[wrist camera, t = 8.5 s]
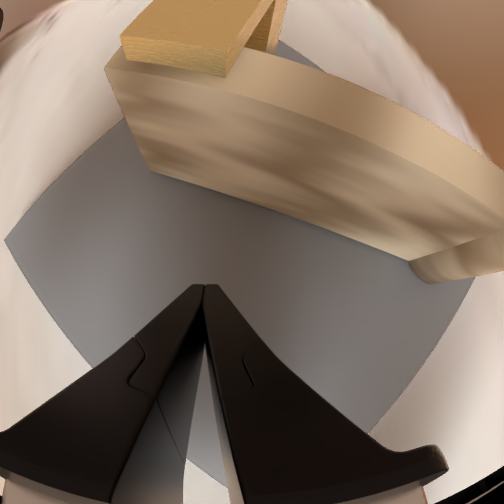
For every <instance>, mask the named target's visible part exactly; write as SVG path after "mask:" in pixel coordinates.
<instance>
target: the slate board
mask: <svg viewBox="0 0 504 504" xmlns="http://www.w3.org/2000/svg"><path fill="white" fill-rule="evenodd" d="M275 56H278V57H282V58H285V59H288V60H291V61H294V62H297V63H300V64H303V65H306V66H309V67H312V68H315V69H318V70H320V71H323V72H325V71H324V70H322V69H321V68H319V67H318V66H317V65H315V64H314V63H313V62H311V61H310V60H308V59H307V58H305V57H304V56H303V55H301V54H300V53H298V52H297V51H295V50H294V49H292V48H291V47H289V46H288V45H286V44H285V43H283V42H281V41H280V40H278V44H277V48H276V53H275ZM4 241H5V243H6V245H7V247H8V249H9V250H10V252H11V254H12V256H13V258H14V259H15V261H16V263H17V264H18V266H19V268H20V270H21V271H22V273H23V274H24V276H25V278H26V279H27V281H28V283H29V284H30V286H31V287H32V289H33V290H34V292H35V293H36V295H37V296H38V298H39V299H40V301H41V302H42V304H43V305H44V307H45V308H46V310H47V311H48V312H49V314H50V315H51V317H52V318H53V319H54V321H55V322H56V323H57V325H58V326H59V328H60V329H61V330H62V331H63V333H64V334H65V335H66V337H67V338H68V339H69V341H70V342H71V343H72V344H73V346H74V347H75V348H76V349H77V351H78V352H79V353H80V354H81V355H82V357H83V358H84V359H85V360H86V361H87V363H88V364H89V365H90V366H91V367H92V368H94V367H96V366H97V365H98V364H100V363H101V362H102V361H104V360H105V359H106V358H108V357H109V356H110V355H112V354H113V353H114V352H115V351H117V350H118V349H119V348H120V347H121V346H122V345H124V344H125V343H126V342H127V341H128V340H129V339H130V338H132V337H134V335H135V334H137V333H138V332H139V331H140V330H141V329H142V328H143V327H144V326H145V325H147V324H148V323H149V322H150V321H151V320H152V319H153V318H154V317H155V316H157V315H158V314H159V313H160V312H161V311H162V310H163V309H164V308H166V307H167V306H168V305H169V304H170V303H171V302H172V301H173V300H175V299H176V298H177V297H178V296H179V295H180V294H181V293H182V292H184V291H185V290H186V289H187V288H188V287H189V286H190V285H192V284H204V285H206V284H218V285H219V286H220V287H221V289H222V290H223V291H224V292H225V294H226V295H227V296H228V298H229V299H230V300H231V301H232V303H233V304H234V305H235V306H236V308H237V309H238V310H239V312H240V313H241V314H242V315H243V317H244V318H245V319H246V320H247V322H248V323H249V324H250V325H251V327H252V328H253V329H254V330H255V332H256V333H257V334H258V335H259V336H260V338H261V340H263V341H264V342H265V343H266V345H267V346H268V347H269V348H270V349H271V350H272V352H273V353H274V354H275V355H276V356H277V357H278V358H279V359H280V360H281V361H282V362H283V363H284V364H285V365H286V366H287V367H288V368H289V369H291V370H292V371H293V372H294V373H295V374H296V375H297V376H299V377H300V378H301V379H302V380H303V381H304V382H305V383H307V384H308V385H309V386H310V387H311V388H312V389H314V390H315V391H316V392H317V393H318V394H319V395H321V396H322V397H323V398H324V399H325V400H326V401H328V402H329V403H330V404H331V405H332V406H334V407H335V408H336V409H337V410H338V411H340V412H341V413H342V414H343V415H344V416H346V417H347V418H348V419H349V420H351V421H352V422H353V423H354V424H355V425H357V426H358V427H359V428H360V429H362V430H363V431H364V432H365V433H368V432H369V431H370V430H371V429H372V428H373V427H374V426H375V424H376V423H377V422H378V421H379V420H380V419H381V418H382V416H383V415H384V414H385V413H386V412H387V411H388V409H389V408H390V407H391V406H392V404H393V403H394V402H395V401H396V400H397V398H398V397H399V396H400V395H401V393H402V392H403V391H404V389H405V388H406V387H407V386H408V384H409V383H410V382H411V380H412V379H413V378H414V376H415V375H416V373H417V372H418V371H419V369H420V368H421V367H422V365H423V364H424V362H425V361H426V359H427V358H428V356H429V355H430V354H431V352H432V351H433V349H434V348H435V346H436V345H437V343H438V341H439V340H440V338H441V337H442V335H443V334H444V332H445V330H446V329H447V327H448V326H449V324H450V322H451V321H452V319H453V317H454V315H455V314H456V312H457V310H458V309H459V307H460V305H461V303H462V301H463V300H464V298H465V296H466V294H467V292H468V290H469V288H470V286H471V285H472V283H473V281H474V279H475V277H476V276H475V277H470V278H465V279H460V280H455V281H449V282H444V283H438V284H428V283H425V282H423V281H422V280H420V279H419V278H418V277H417V276H416V275H415V273H414V272H413V270H412V268H411V266H410V264H409V261H407V260H405V259H402V258H400V257H397V256H395V255H392V254H390V253H387V252H385V251H382V250H380V249H377V248H375V247H372V246H370V245H367V244H364V243H362V242H359V241H357V240H354V239H351V238H349V237H346V236H344V235H341V234H338V233H336V232H333V231H330V230H328V229H325V228H322V227H319V226H317V225H314V224H311V223H308V222H306V221H303V220H300V219H297V218H294V217H292V216H289V215H286V214H283V213H280V212H277V211H275V210H272V209H269V208H266V207H263V206H260V205H257V204H254V203H251V202H248V201H245V200H242V199H239V198H236V197H233V196H230V195H227V194H224V193H221V192H218V191H215V190H212V189H209V188H206V187H202V186H199V185H196V184H193V183H190V182H186V181H183V180H180V179H177V178H173V177H170V176H167V175H164V174H160V173H157V172H154V171H150V170H149V169H148V167H147V165H146V162H145V160H144V158H143V156H142V154H141V152H140V150H139V148H138V145H137V143H136V141H135V139H134V137H133V135H132V132H131V130H130V128H129V126H128V123H127V121H126V119H125V118H124V119H123V120H121V121H120V122H119V123H118V124H117V125H115V126H114V127H113V128H112V129H111V130H109V131H108V132H107V133H106V134H105V135H103V136H102V137H101V138H100V139H99V140H98V141H97V142H95V143H94V144H93V145H92V146H91V147H90V148H89V149H88V150H87V151H85V152H84V153H83V154H82V155H81V156H80V157H79V158H78V159H77V160H76V161H75V162H74V163H73V164H72V165H71V166H70V167H69V168H68V169H67V170H66V171H65V172H64V173H63V174H62V175H61V176H60V177H59V178H58V179H57V180H56V181H55V182H54V183H53V184H52V185H51V186H50V187H49V188H48V189H47V190H46V191H45V192H44V193H43V194H42V196H41V197H40V198H39V199H38V200H37V201H36V202H35V203H34V204H33V206H32V207H31V208H30V209H29V210H28V211H27V212H26V214H25V215H24V216H23V217H22V218H21V220H20V221H19V222H18V223H17V224H16V226H15V227H14V228H13V229H12V231H11V232H10V233H9V234H8V236H7V237H6V238H5V239H4ZM186 458H187V459H188V460H190V461H191V462H192V463H193V464H195V465H196V466H197V467H199V468H200V469H201V470H203V471H204V472H205V473H207V474H208V475H209V476H211V477H212V478H214V479H215V480H216V481H218V482H219V483H221V484H222V485H224V486H225V487H227V488H228V485H227V479H226V474H225V469H224V463H223V458H222V453H221V447H220V442H219V436H218V430H217V424H216V418H215V412H214V406H213V399H212V393H211V386H210V379H209V372H208V365H207V357H206V349H205V348H204V354H203V360H202V366H201V371H200V377H199V383H198V388H197V394H196V400H195V406H194V412H193V418H192V424H191V430H190V436H189V443H188V449H187V455H186Z"/></svg>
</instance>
